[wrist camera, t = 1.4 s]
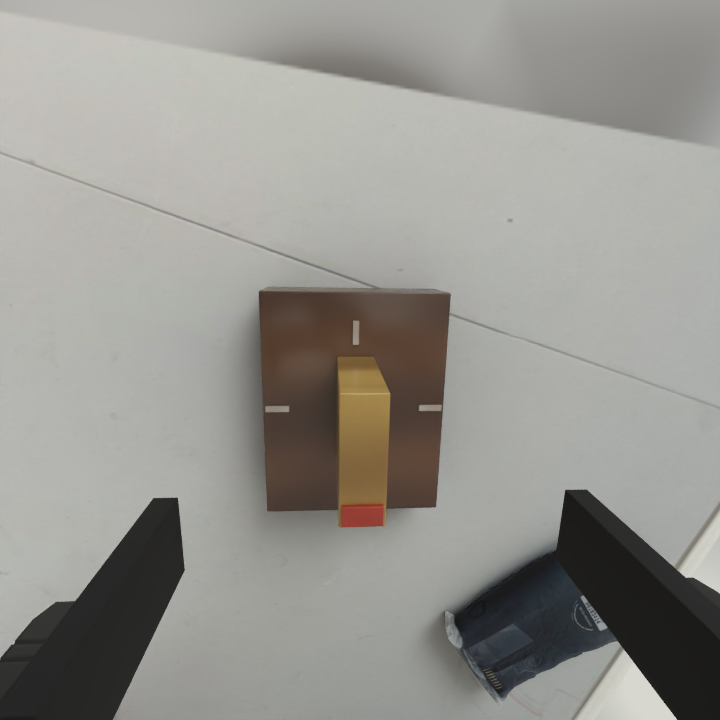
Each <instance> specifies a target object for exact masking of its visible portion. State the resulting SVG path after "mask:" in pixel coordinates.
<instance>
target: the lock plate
mask: <svg viewBox="0 0 720 720" xmlns="http://www.w3.org/2000/svg"><path fill="white" fill-rule="evenodd" d="M450 296H451V294H450V293H447V292H443V291H440V290H436V289H379V288H307V287H268V288H265V289H263V290H260V291H259V309H260V335H261V360H262V386H263V412H264V438H265V463H266V489H267V511H304V510H338V498H337V463H336V422H337V357H374V359H375V361H376V363H377V365H378V368H379V370H380V372H381V374H382V376H383V379H384V381H385V383H386V385H387V388H388V390H389V392H390V420H389V447H388V474H387V501H386V508H426V507H436V500H437V485H438V471H439V456H440V442H441V427H442V412H443V398H444V383H445V369H446V354H447V340H448V325H449V311H450Z"/></svg>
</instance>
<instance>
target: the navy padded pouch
mask: <svg viewBox="0 0 720 720" xmlns="http://www.w3.org/2000/svg"><path fill="white" fill-rule="evenodd" d="M555 558H556V551H555V552H554V553H552V554H546V555H544V556H543V557H542V558H540V559H538V560H536V561H534V562H532V563H531V564H529V565H528V566H527V567H525V568H524V569H522V570H521V571H519V572H518V573H516V574H514V575H512V576H510V577H509V578H508V579H506V580H505V581H503V582H502V583H500V584H499V585H498V586H496V587H495V588H493V589H491V590H490V591H489V592H488V593H486V594H485V595H484V596H483V597H481V598H480V599H479V600H477V601H475V602H474V603H473V604H472V605H471V606H470V607H469V608H467V609H466V610H464V611H463V612H462V613H460V614H456V615H453V614H450V612H449V611H445V628H446V632H447V635H448V639H449V640H450V642H451V643H452V644H453V646H454V647H455V648H456V650H457V651H458V652H459V654H460V655H461V656H462V658H463V659H464V660H465V662H466V663H467V664H468V665H469V667H470V668H471V670H472V671H473V673H474V674H475V675H476V677H477V678H478V679H479V680H480V682H481V683H482V685H483V686H484V688H485V689H486V690H487V692H488V693H489V694H490V695H491V697H492V698H493V699H494V700H495V701H496V703H498V704H499V705H501V704H503V703H504V701H505V699H506V697H507V695H508V693H509V692H510V691H511V690H512V689H513V688H514V687H515V686H517V685H519V684H521V683H523V682H525V681H527V680H528V679H531V678H534V677H535V676H536V675H537V674H538V673H540V672H543V671H546V670H549V669H551V668H554V667H555V666H556V665H558V664H559V663H561V662H563V661H565V660H567V659H570V658H573V657H576V656H578V655H580V654H582V652H587V651H591V650H594V649H597V648H600V647H602V646H604V645H606V644H608V643H611V642H615V641H617V639H616V638H615V637H614V635H613V634H612V633H611V631H610V630H609V629H608V627H607V626H606V625H605V623H604V622H603V621H602V619H601V618H600V617H599V615H598V614H597V613H596V611H595V610H594V609H593V607H592V606H591V605H590V604H589V602H588V601H587V600H586V598H585V597H584V596H583V594H582V593H581V592H580V590H579V589H578V588H577V586H576V585H575V584H574V582H573V581H572V580H571V578H570V577H569V576H568V574H567V573H566V572H565V570H564V569H563V568H562V566H561V565H560V564H559V563H558V561H557V560H556V559H555Z"/></svg>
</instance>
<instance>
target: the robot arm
mask: <svg viewBox="0 0 720 720" xmlns="http://www.w3.org/2000/svg"><path fill="white" fill-rule="evenodd" d="M555 559H556V560H557V561H558V563H559V564H560V565H561V566H562V568H563V569H564V570H565V572H566V573H567V574H568V576H569V577H570V578H571V580H572V581H573V582H574V584H575V585H576V586H577V588H578V589H579V590H580V592H581V593H582V594H583V596H584V597H585V598H586V600H587V601H588V602H589V604H590V605H591V606H592V607H593V609H594V610H595V611H596V613H597V614H598V615H599V617H600V618H601V619H602V621H603V622H604V623H605V625H606V626H607V627H608V629H609V630H610V631H611V633H612V634H613V635H614V637H615V638H616V639H617V641H618V642H619V643H620V645H621V646H622V647H623V649H624V650H625V651H626V652H627V654H628V655H629V656H630V658H631V659H632V660H633V662H634V663H635V664H636V666H637V667H638V668H639V670H640V671H641V672H642V674H643V675H644V676H645V678H646V679H647V680H648V681H649V683H650V684H651V686H652V687H653V688H654V690H655V691H656V692H657V694H658V695H659V696H660V697H661V699H662V700H663V701H664V703H665V704H666V705H667V707H668V708H669V709H670V711H671V712H672V713H673V715H674V716H675V717H676V719H677V720H720V594H719V593H718V592H716V591H715V590H713V589H711V588H710V587H708V586H706V585H705V584H703V583H701V582H700V581H698V580H696V579H695V578H685V577H684V576H683V575H682V574H681V573H680V572H678V571H677V570H676V569H675V568H674V567H673V566H672V565H671V564H669V563H668V562H667V561H666V560H665V559H664V558H663V557H662V556H660V555H659V554H658V553H657V552H656V551H655V550H654V549H653V548H652V547H650V546H649V545H648V544H647V543H646V542H645V541H644V540H643V539H641V538H640V537H639V536H638V535H637V534H636V533H635V532H634V531H632V530H631V529H630V528H629V527H628V526H627V525H626V524H625V523H623V522H622V521H621V520H620V519H619V518H618V517H617V516H616V515H614V514H613V513H612V512H611V511H610V510H609V509H608V508H607V507H605V506H604V505H603V504H602V503H601V502H600V501H599V500H598V499H597V498H595V497H594V496H593V495H592V494H591V493H590V492H589V491H588V490H565V496H564V503H563V510H562V517H561V524H560V530H559V537H558V544H557V551H556V558H555ZM184 570H185V569H184V559H183V548H182V537H181V526H180V516H179V505H178V498H153V500H152V501H151V502H150V504H149V505H148V506H147V508H146V509H145V510H144V512H143V513H142V514H141V516H140V517H139V518H138V520H137V521H136V522H135V523H134V525H133V526H132V527H131V529H130V530H129V531H128V533H127V534H126V535H125V537H124V538H123V539H122V541H121V542H120V543H119V545H118V546H117V547H116V549H115V550H114V551H113V552H112V554H111V555H110V556H109V558H108V559H107V560H106V562H105V563H104V564H103V566H102V567H101V568H100V570H99V571H98V572H97V574H96V575H95V576H94V577H93V579H92V580H91V581H90V583H89V584H88V585H87V587H86V588H85V589H84V591H83V592H82V593H81V595H80V596H79V597H78V599H77V600H76V601H70V602H55V603H54V604H53V605H52V606H50V607H49V608H48V609H46V610H45V611H44V612H42V613H41V614H40V615H38V616H37V617H36V618H34V619H33V620H32V621H31V622H30V624H29V625H28V626H27V627H26V628H25V630H24V631H23V632H22V633H21V634H20V636H19V637H18V638H17V639H16V640H15V644H14V645H11V646H10V647H9V649H8V650H7V651H6V652H5V653H4V655H3V656H2V657H1V659H0V720H113V718H114V716H115V714H116V712H117V710H118V708H119V706H120V703H121V701H122V699H123V697H124V695H125V693H126V691H127V689H128V687H129V685H130V683H131V681H132V679H133V676H134V674H135V672H136V670H137V668H138V666H139V664H140V662H141V660H142V658H143V656H144V654H145V651H146V649H147V647H148V645H149V643H150V641H151V639H152V637H153V635H154V633H155V631H156V629H157V627H158V624H159V622H160V620H161V618H162V616H163V614H164V612H165V610H166V608H167V606H168V604H169V602H170V599H171V597H172V595H173V593H174V591H175V589H176V587H177V585H178V583H179V581H180V579H181V577H182V575H183V572H184Z"/></svg>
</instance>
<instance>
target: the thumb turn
mask: <svg viewBox="0 0 720 720" xmlns="http://www.w3.org/2000/svg"><path fill="white" fill-rule="evenodd" d="M389 420H390V392H389V390H388V388H387V385H386V383H385V381H384V379H383V376H382V374H381V372H380V370H379V368H378V365H377V363H376V361H375V359H374V357H337V422H336V463H337V498H338V526H339V527H367V526H385V525H386V501H387V474H388V447H389Z"/></svg>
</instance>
